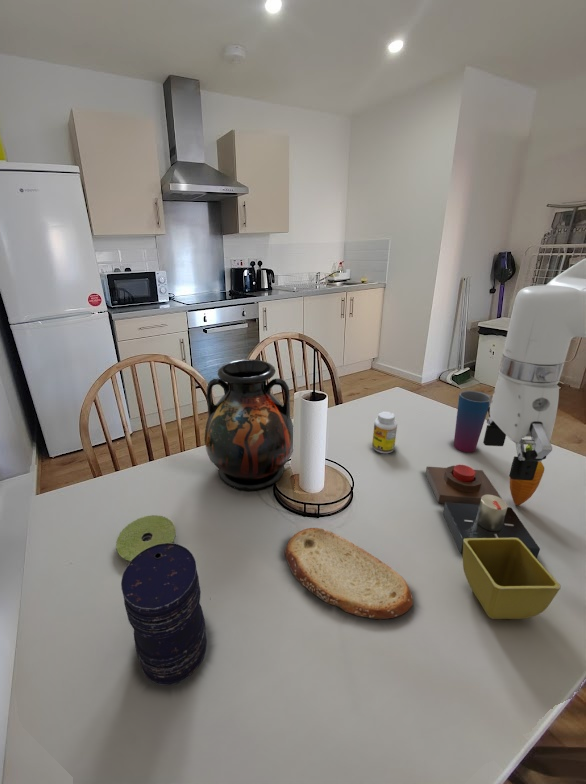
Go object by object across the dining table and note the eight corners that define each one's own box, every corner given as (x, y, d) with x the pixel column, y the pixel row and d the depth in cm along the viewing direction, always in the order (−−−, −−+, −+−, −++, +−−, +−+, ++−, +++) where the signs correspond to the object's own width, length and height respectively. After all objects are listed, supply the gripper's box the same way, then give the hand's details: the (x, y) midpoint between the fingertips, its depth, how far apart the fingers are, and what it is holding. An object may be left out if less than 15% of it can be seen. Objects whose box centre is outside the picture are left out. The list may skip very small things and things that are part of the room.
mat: (138, 580, 62) (136, 572, 62) (107, 546, 70) (105, 539, 69) (188, 540, 70) (187, 533, 69) (155, 514, 77) (154, 507, 76)
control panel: (507, 519, 71) (511, 506, 70) (535, 561, 62) (540, 548, 61) (442, 513, 73) (445, 501, 72) (460, 553, 64) (463, 540, 63)
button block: (480, 477, 83) (484, 463, 81) (500, 508, 74) (505, 493, 72) (425, 473, 85) (427, 459, 84) (438, 503, 76) (441, 488, 74)
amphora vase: (199, 500, 80) (185, 387, 70) (217, 447, 100) (208, 352, 90) (295, 504, 78) (296, 387, 67) (294, 449, 97) (294, 352, 87)
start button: (469, 471, 79) (471, 465, 79) (476, 483, 76) (478, 476, 75) (450, 470, 80) (451, 464, 80) (456, 481, 77) (457, 475, 76)
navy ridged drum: (213, 671, 49) (203, 595, 43) (139, 698, 46) (118, 621, 41) (200, 604, 58) (191, 534, 52) (138, 624, 55) (121, 553, 50)
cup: (485, 454, 91) (497, 401, 86) (458, 454, 91) (469, 402, 86) (470, 439, 97) (480, 389, 92) (444, 440, 98) (454, 390, 92)
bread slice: (422, 612, 55) (425, 595, 53) (310, 636, 52) (311, 619, 51) (366, 525, 71) (368, 510, 70) (279, 540, 69) (279, 525, 67)
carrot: (505, 493, 78) (521, 434, 72) (533, 504, 74) (553, 443, 69) (499, 505, 75) (516, 444, 69) (528, 517, 71) (549, 454, 66)
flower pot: (452, 577, 60) (462, 537, 57) (506, 577, 59) (518, 536, 56) (483, 632, 52) (496, 588, 48) (545, 632, 51) (563, 588, 48)
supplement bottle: (368, 444, 98) (371, 411, 94) (386, 441, 99) (390, 408, 95) (378, 455, 93) (382, 421, 89) (398, 452, 94) (402, 418, 90)
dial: (472, 514, 69) (477, 492, 67) (495, 516, 68) (501, 494, 66) (481, 530, 65) (487, 507, 63) (505, 532, 64) (512, 509, 62)
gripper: (598, 392, 46) (562, 497, 53) (527, 350, 62) (505, 435, 68) (533, 390, 48) (505, 492, 54) (479, 350, 64) (463, 433, 70)
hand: (505, 460), depth 61 cm, fingers open, 9 cm apart
